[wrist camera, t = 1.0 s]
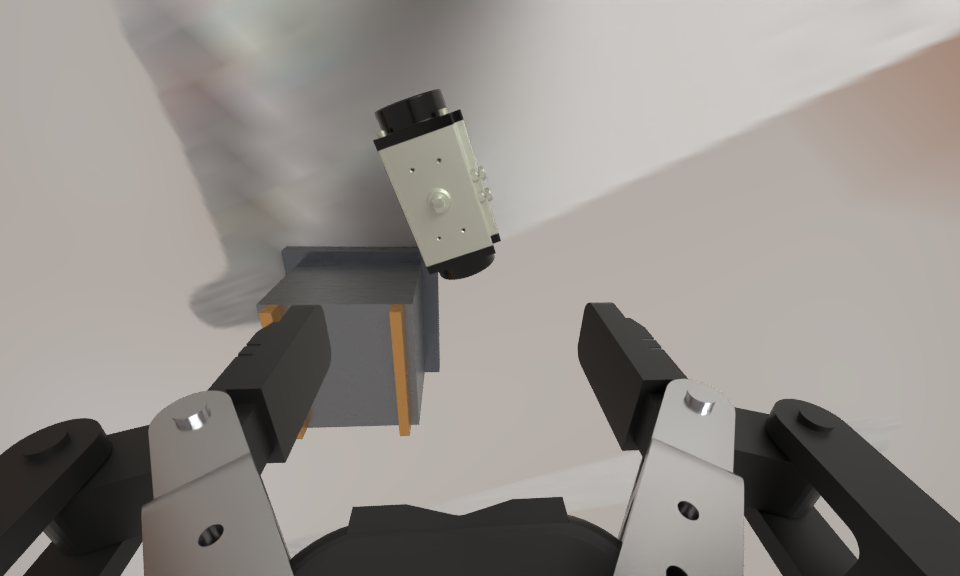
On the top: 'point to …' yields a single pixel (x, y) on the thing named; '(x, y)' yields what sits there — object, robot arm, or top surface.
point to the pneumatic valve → (438, 184)
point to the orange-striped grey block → (365, 330)
